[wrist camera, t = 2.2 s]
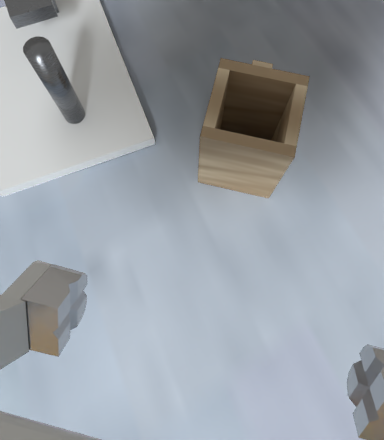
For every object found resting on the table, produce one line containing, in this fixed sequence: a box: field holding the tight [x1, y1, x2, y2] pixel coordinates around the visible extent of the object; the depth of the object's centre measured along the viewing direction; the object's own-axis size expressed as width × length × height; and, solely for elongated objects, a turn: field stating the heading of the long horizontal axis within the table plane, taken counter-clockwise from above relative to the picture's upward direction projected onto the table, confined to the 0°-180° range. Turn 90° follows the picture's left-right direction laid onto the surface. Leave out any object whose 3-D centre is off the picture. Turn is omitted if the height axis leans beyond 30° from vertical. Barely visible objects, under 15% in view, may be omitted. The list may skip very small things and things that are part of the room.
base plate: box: [0, 0, 155, 197], centre depth 29 cm, size 16×12×1 cm
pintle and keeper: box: [4, 0, 85, 124], centre depth 26 cm, size 12×3×8 cm, turn 21°
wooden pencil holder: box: [198, 58, 309, 198], centre depth 25 cm, size 10×5×7 cm, turn 166°
